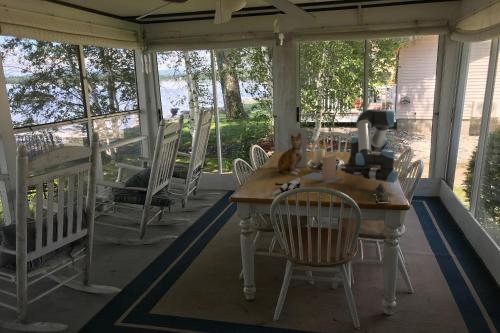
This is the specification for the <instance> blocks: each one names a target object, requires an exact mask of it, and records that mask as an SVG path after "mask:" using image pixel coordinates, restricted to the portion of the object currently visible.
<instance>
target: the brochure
mask: <svg viewBox="0 0 500 333" xmlns="http://www.w3.org/2000/svg"><path fill="white" fill-rule="evenodd" d="M287 131H288V132H287V133H288V135H287V138H288V140H287V142H288V144H287V145H288V148H287V149H288V150H290V149H292V148H293V146H292V144H291V135H293V136H294V137H297V136H298V133H300V134H301V140H302V158H301V160H300V163H299V164H298V165H297V166H296V168H307V162H308V161H307V160H308V159H307V155H308V154H307V152H308V151H307V150H308V148H307V147H308V143H307V140H308V130H307V128H306V127H300V128H299V127H298V128H295V127H294V128H292V127H291V128H290V127H289V128H288V129H287ZM288 150H287V151H288Z"/></svg>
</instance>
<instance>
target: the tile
mask: <svg viewBox="0 0 500 333" xmlns="http://www.w3.org/2000/svg"><path fill="white" fill-rule="evenodd" d="M336 173H337V154H333V153H331V154H329V155H324V156H322V174H323V175H322V180H324V181H327V180H330V179H332V178H335V176H337V174H336Z"/></svg>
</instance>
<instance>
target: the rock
mask: <svg viewBox="0 0 500 333" xmlns="http://www.w3.org/2000/svg"><path fill="white" fill-rule="evenodd" d="M385 188H386V187H384V183H383V182H380V183H378V185H377V186H376V187H375V189H374V190H373V191H371V195H372V194H376V196H377V202H389V201H390V200H389V201H388V195H389V194H388V192H387V190H386V189H385Z"/></svg>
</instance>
